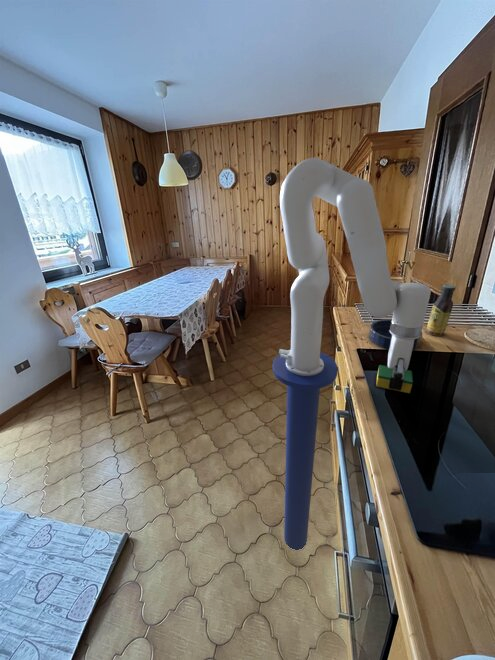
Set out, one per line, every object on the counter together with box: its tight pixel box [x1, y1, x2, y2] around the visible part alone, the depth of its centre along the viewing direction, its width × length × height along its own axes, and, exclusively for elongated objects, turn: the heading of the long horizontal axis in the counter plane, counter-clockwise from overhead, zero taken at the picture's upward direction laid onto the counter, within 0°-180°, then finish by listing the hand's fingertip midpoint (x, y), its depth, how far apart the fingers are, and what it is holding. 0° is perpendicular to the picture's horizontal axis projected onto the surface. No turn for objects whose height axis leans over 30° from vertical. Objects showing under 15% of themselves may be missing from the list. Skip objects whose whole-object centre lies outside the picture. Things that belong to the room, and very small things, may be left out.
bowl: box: [368, 319, 423, 351], centre depth 108 cm, size 18×18×5 cm
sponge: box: [375, 364, 414, 394], centre depth 85 cm, size 9×6×4 cm, turn 65°
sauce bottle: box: [426, 283, 457, 337], centre depth 108 cm, size 7×6×20 cm
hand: (394, 379), depth 85 cm, fingers open, 9 cm apart
